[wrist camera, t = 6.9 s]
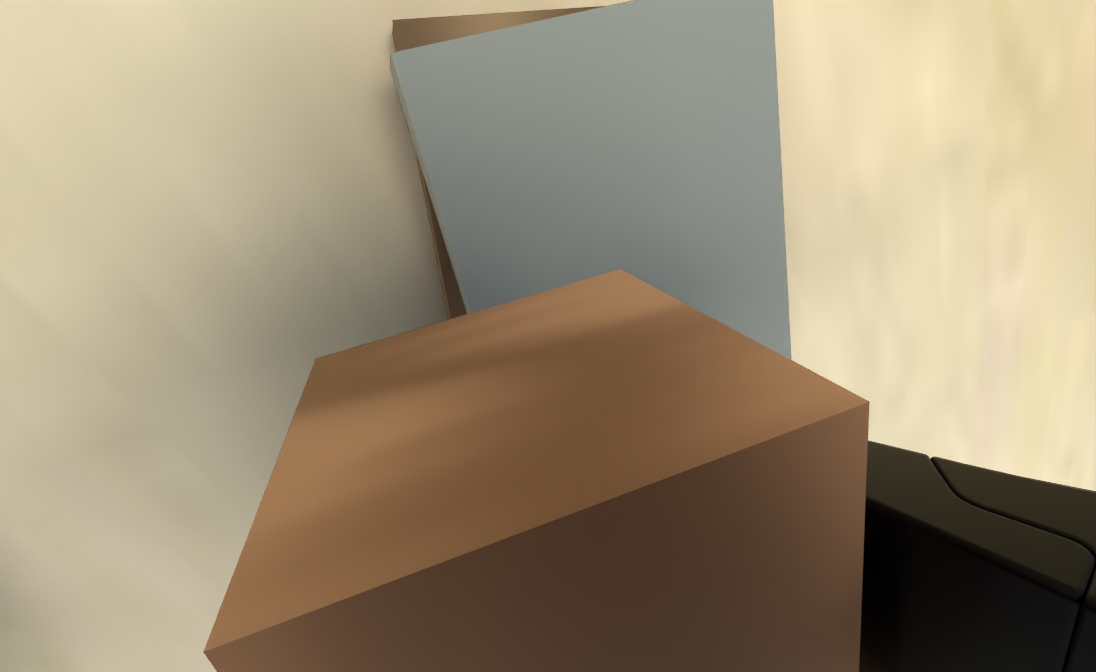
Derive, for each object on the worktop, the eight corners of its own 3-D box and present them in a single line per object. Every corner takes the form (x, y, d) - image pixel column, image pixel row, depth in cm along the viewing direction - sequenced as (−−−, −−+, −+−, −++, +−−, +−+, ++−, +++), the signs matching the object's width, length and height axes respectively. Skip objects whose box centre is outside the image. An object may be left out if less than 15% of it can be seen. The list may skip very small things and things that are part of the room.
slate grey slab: (518, 476, 21) (534, 515, 18) (390, 68, 15) (390, 53, 13) (753, 386, 23) (794, 411, 20) (720, -5, 17) (771, -30, 15)
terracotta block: (416, 593, 10) (435, 984, 5) (315, 358, 8) (202, 652, 3) (658, 500, 11) (854, 766, 6) (620, 268, 9) (868, 401, 4)
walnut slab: (473, 450, 23) (482, 484, 20) (392, 37, 17) (393, 20, 15) (713, 388, 25) (745, 411, 23) (714, 14, 20) (757, -4, 17)
